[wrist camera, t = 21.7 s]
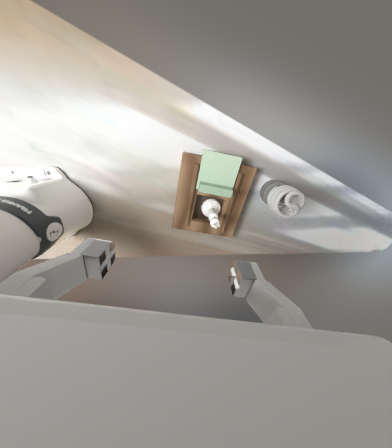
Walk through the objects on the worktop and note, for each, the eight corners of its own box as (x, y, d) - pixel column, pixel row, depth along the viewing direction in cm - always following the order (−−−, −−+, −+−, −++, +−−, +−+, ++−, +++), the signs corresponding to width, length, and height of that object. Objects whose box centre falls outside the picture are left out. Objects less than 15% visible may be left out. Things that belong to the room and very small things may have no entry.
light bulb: (281, 192, 38) (313, 213, 28) (259, 202, 40) (281, 226, 29) (275, 171, 36) (307, 185, 26) (251, 183, 37) (273, 201, 27)
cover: (195, 187, 35) (195, 192, 32) (203, 149, 31) (204, 150, 28) (230, 194, 36) (233, 199, 33) (241, 157, 32) (246, 159, 29)
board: (173, 223, 43) (171, 229, 40) (183, 151, 34) (182, 153, 31) (229, 232, 44) (232, 239, 41) (253, 166, 35) (258, 169, 33)
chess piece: (201, 199, 39) (203, 217, 30) (220, 198, 39) (229, 216, 30) (201, 216, 41) (203, 238, 32) (220, 215, 41) (227, 237, 32)
